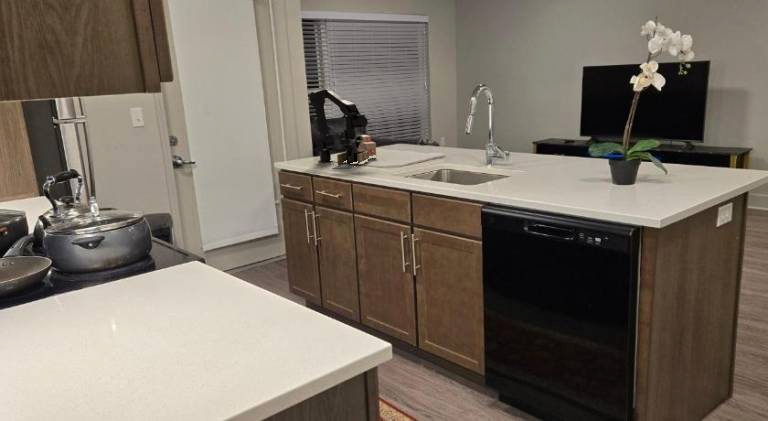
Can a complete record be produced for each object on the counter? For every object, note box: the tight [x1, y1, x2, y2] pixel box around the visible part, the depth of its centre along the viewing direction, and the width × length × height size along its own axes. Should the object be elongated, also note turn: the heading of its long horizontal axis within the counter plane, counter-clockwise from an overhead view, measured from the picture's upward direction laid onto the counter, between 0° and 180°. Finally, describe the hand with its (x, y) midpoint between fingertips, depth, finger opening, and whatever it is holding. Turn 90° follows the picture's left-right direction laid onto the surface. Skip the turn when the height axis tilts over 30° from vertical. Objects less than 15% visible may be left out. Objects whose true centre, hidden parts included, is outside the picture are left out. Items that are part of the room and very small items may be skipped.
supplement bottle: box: [345, 142, 358, 165], centre depth 315 cm, size 7×7×12 cm
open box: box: [336, 151, 369, 166], centre depth 316 cm, size 14×13×6 cm
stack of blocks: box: [358, 134, 377, 156], centre depth 338 cm, size 21×6×12 cm, turn 18°
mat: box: [332, 164, 355, 170], centre depth 306 cm, size 10×10×1 cm
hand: (352, 155), depth 315 cm, fingers closed on supplement bottle, 7 cm apart
